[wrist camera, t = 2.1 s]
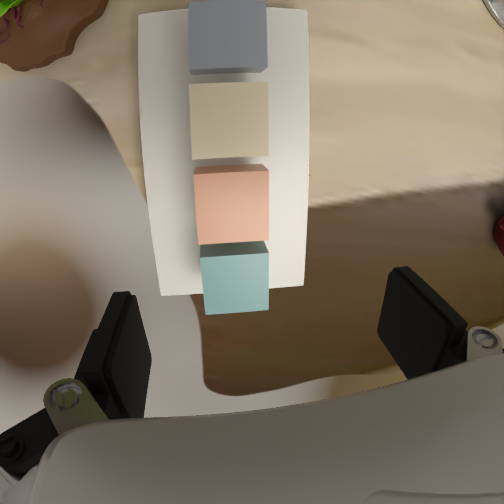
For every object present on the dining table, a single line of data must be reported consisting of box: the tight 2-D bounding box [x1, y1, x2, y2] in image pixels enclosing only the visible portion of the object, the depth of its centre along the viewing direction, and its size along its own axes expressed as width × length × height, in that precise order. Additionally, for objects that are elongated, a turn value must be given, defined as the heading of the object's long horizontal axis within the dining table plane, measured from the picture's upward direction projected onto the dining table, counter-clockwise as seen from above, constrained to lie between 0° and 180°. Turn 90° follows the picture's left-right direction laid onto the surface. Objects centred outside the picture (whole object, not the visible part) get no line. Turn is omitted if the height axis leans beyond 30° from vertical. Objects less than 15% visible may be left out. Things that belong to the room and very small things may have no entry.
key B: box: [189, 82, 269, 160], centre depth 22 cm, size 5×5×6 cm
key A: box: [188, 0, 268, 75], centre depth 20 cm, size 5×5×6 cm
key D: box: [200, 241, 269, 315], centre depth 27 cm, size 5×5×6 cm
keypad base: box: [138, 7, 310, 296], centre depth 27 cm, size 26×14×3 cm, turn 1°
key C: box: [193, 164, 269, 245], centre depth 25 cm, size 5×5×6 cm
